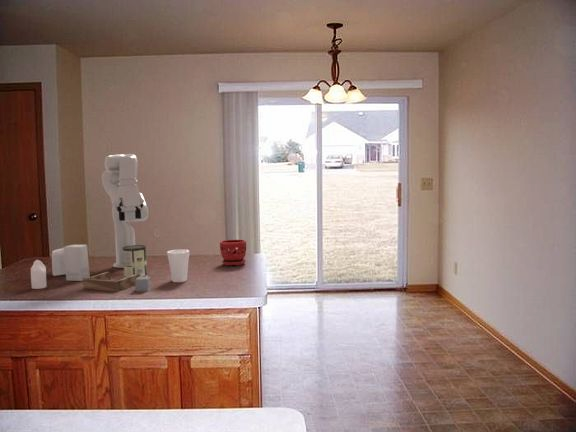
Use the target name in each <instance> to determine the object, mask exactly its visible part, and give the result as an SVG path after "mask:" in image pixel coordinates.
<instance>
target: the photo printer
mask: <svg viewBox="0 0 576 432" xmlns="http://www.w3.org/2000/svg"><path fill="white" fill-rule="evenodd" d="M51 264H52V265H51V267H52V276H53V277H56V276H57V277H58V276H64V275H65V276H66V269H65V258H64V248H62V247H61V248H58V249H57V248H56V249H55V250H52V252H51Z"/></svg>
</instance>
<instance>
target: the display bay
mask: <svg viewBox="0 0 576 432" xmlns="http://www.w3.org/2000/svg"><path fill="white" fill-rule="evenodd" d="M138 277H140V274H134V275H131V276H129V277H126V278H124V277H123V278H121V279H118V280H110V279H111V278H110V271H105V272H102V273H99V274H96V275H92V276H90V277H89V278H86V279H83V281H82V282H83V289H84V290H95V291H107V292H108V291H109V292H110V291H111V292H120V291H123V290H125V289H126V290H127V288H131V287H133V286H136V282H135V279H136V278H138Z"/></svg>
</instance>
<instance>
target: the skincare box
mask: <svg viewBox="0 0 576 432" xmlns="http://www.w3.org/2000/svg"><path fill="white" fill-rule="evenodd" d="M63 248H64V258H65V269H66V275H65V278H66V279H65V280H66V281H69V282H70V281H71V282H72V281H73V282H83V279H86V278H89V277H91V276H90V275H91V274H90V265H89V264H90V263H89V255H88V254H89V253H88V245H87V244H69V245H66V246H63Z"/></svg>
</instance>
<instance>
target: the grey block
mask: <svg viewBox="0 0 576 432" xmlns="http://www.w3.org/2000/svg"><path fill="white" fill-rule="evenodd" d="M151 281H152V279H151V276H147V277H138V278H136V279H135V282H136V285H135V291H136V292H149V291H150V290H151V288H152V283H151Z"/></svg>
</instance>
